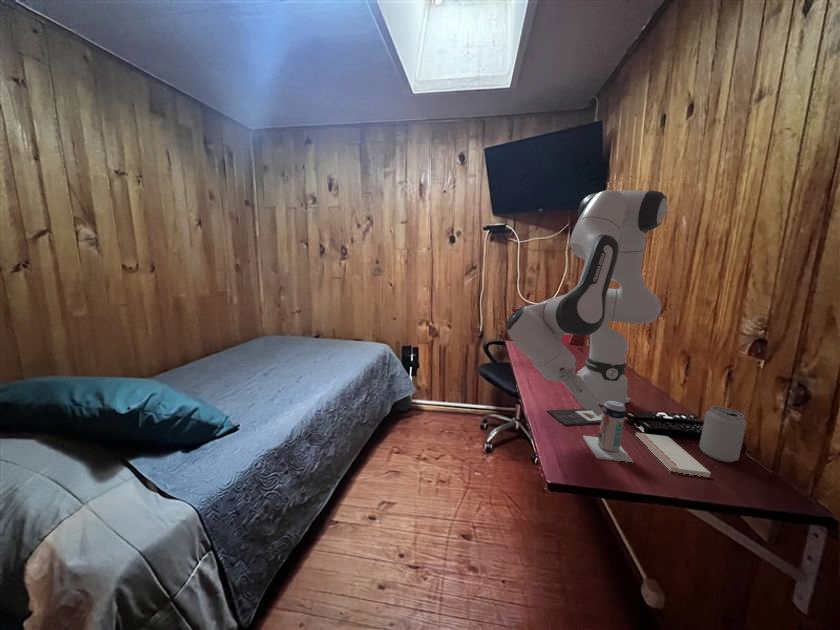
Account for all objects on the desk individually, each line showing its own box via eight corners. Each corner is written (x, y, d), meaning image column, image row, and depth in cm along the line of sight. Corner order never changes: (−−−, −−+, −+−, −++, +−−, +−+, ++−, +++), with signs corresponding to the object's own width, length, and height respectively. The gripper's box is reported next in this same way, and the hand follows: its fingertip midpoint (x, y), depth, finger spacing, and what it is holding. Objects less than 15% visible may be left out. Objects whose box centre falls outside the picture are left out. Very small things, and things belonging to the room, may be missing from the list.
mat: (582, 437, 88) (583, 435, 88) (614, 441, 87) (614, 439, 87) (597, 458, 78) (597, 456, 78) (633, 463, 77) (633, 461, 77)
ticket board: (635, 436, 90) (636, 432, 90) (667, 440, 89) (668, 435, 89) (670, 472, 74) (671, 467, 74) (709, 477, 73) (710, 472, 73)
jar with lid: (599, 440, 86) (606, 397, 84) (620, 447, 83) (627, 403, 81) (595, 448, 82) (602, 402, 80) (617, 455, 79) (625, 409, 77)
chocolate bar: (546, 410, 103) (596, 408, 106) (546, 413, 103) (596, 411, 106) (564, 424, 94) (618, 421, 98) (564, 427, 94) (617, 424, 98)
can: (732, 467, 78) (742, 420, 76) (693, 451, 84) (702, 407, 82) (742, 459, 82) (752, 413, 80) (704, 444, 88) (713, 402, 86)
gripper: (580, 368, 70) (622, 416, 71) (555, 345, 90) (588, 383, 91) (556, 386, 72) (598, 432, 72) (537, 360, 92) (569, 396, 92)
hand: (592, 404), depth 81 cm, fingers open, 8 cm apart
